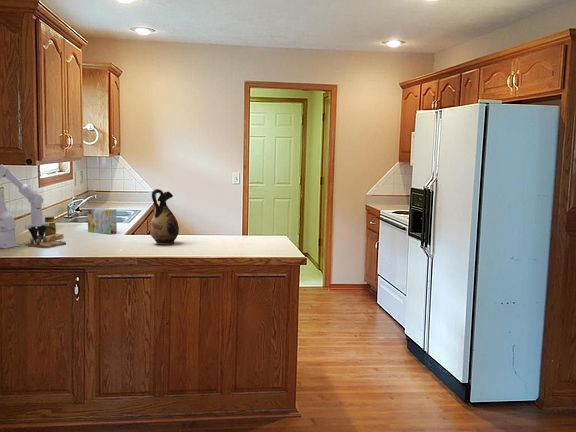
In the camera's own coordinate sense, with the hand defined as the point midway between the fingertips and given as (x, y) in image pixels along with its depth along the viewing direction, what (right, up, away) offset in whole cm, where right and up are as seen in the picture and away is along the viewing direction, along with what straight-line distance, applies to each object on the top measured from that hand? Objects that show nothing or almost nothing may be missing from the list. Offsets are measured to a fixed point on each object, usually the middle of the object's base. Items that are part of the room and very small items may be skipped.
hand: (38, 240), depth 316 cm
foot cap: (0, -2, 0) cm, 2 cm away
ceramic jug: (+71, -2, -5) cm, 71 cm away
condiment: (-2, 0, +20) cm, 20 cm away
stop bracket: (+6, -1, +4) cm, 7 cm away
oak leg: (+8, 0, +1) cm, 8 cm away
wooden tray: (+9, -3, -8) cm, 12 cm away
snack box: (+23, +3, +38) cm, 45 cm away
